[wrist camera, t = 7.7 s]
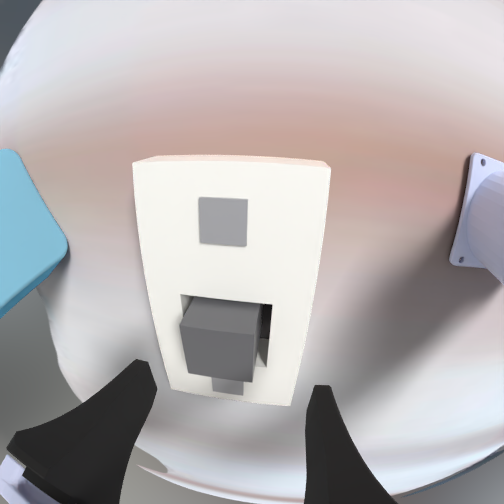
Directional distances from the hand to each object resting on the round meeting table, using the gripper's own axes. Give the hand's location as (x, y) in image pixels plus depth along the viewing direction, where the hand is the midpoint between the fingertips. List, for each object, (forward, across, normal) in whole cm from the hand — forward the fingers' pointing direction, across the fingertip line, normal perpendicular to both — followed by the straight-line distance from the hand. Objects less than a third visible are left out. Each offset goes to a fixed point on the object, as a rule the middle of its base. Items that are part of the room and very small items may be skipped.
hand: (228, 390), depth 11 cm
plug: (+9, +1, +2) cm, 9 cm away
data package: (+9, +20, -5) cm, 23 cm away
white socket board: (+9, +1, +1) cm, 9 cm away
